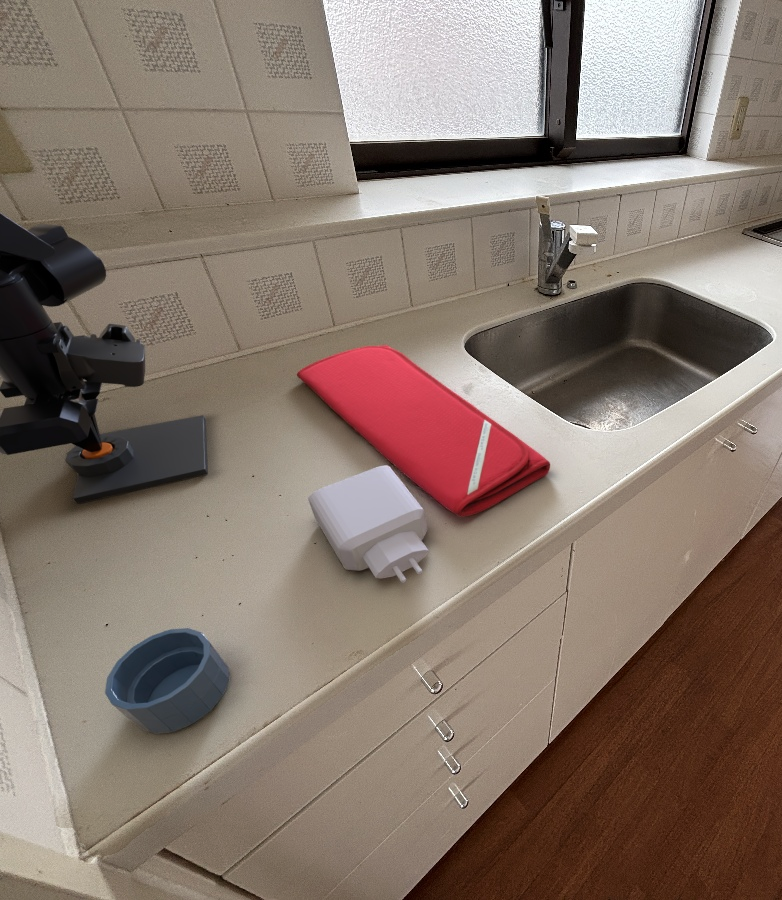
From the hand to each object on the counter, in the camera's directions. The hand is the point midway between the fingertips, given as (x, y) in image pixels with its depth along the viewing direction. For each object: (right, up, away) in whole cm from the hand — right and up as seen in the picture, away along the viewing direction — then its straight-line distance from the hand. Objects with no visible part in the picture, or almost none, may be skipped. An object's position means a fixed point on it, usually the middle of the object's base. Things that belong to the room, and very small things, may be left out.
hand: (96, 449), depth 58 cm
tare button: (0, -1, +1) cm, 1 cm away
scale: (+3, -1, +3) cm, 5 cm away
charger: (+35, -11, -2) cm, 37 cm away
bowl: (+24, -21, -16) cm, 36 cm away
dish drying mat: (+32, +4, +15) cm, 36 cm away
